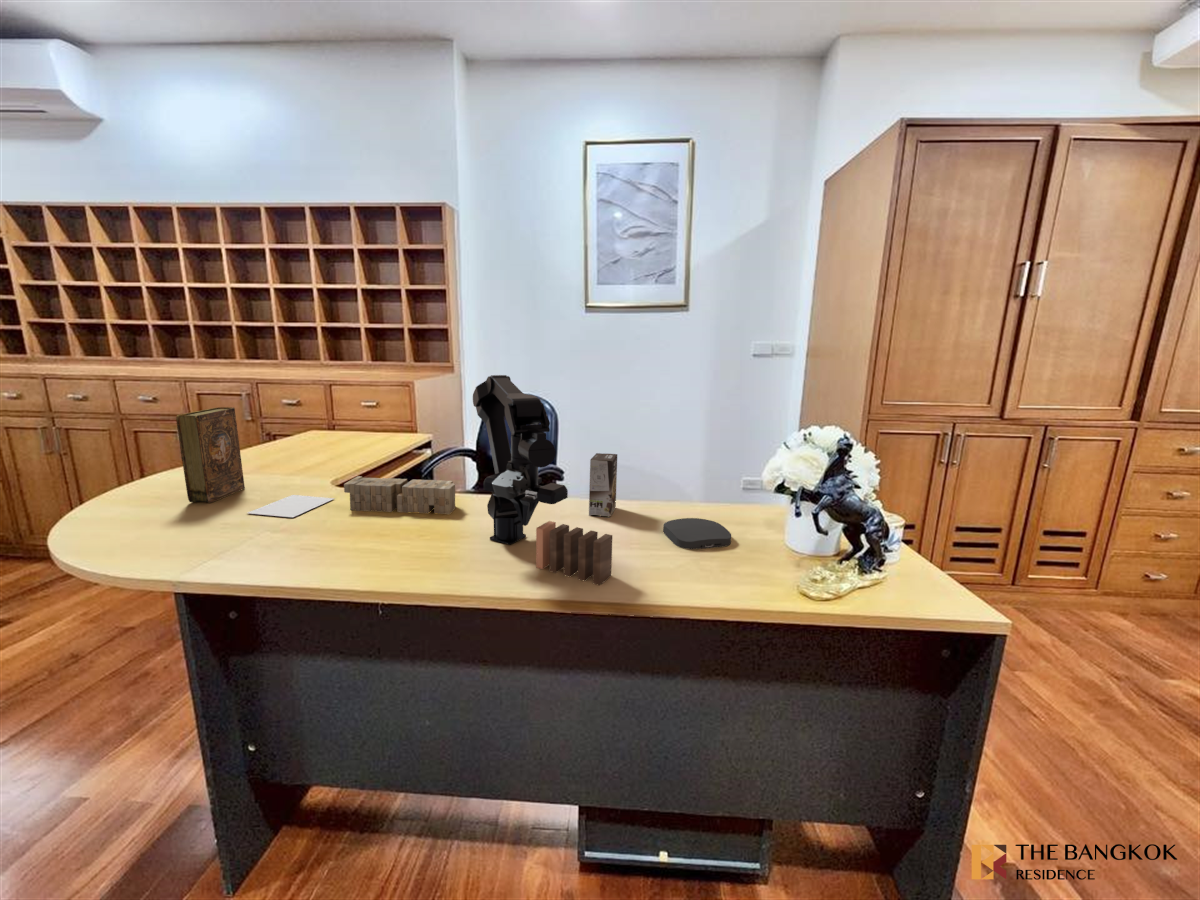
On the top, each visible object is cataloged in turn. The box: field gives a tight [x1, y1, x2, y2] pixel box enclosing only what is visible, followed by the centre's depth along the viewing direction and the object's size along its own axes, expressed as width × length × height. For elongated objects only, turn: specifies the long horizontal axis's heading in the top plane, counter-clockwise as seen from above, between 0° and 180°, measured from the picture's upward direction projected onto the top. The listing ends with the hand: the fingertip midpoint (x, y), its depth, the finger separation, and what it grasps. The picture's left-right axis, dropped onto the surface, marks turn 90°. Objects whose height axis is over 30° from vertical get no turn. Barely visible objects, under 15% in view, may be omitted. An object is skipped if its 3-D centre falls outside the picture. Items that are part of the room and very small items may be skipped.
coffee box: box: [588, 452, 618, 517], centre depth 147 cm, size 9×6×16 cm
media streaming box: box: [662, 517, 732, 550], centre depth 131 cm, size 15×15×3 cm
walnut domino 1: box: [549, 523, 570, 574], centre depth 111 cm, size 2×5×9 cm, turn 151°
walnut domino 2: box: [563, 526, 584, 578], centre depth 110 cm, size 2×5×9 cm, turn 151°
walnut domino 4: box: [592, 533, 613, 586], centre depth 106 cm, size 2×5×9 cm, turn 151°
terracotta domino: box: [535, 520, 557, 570], centre depth 113 cm, size 2×5×9 cm, turn 152°
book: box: [175, 406, 246, 504], centre depth 151 cm, size 16×6×25 cm, turn 179°
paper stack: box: [247, 494, 336, 518], centre depth 141 cm, size 23×25×1 cm
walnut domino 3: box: [577, 530, 599, 582], centre depth 108 cm, size 2×5×9 cm, turn 151°
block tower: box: [343, 475, 456, 515], centre depth 147 cm, size 8×8×29 cm
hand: (525, 525), depth 115 cm, fingers closed
